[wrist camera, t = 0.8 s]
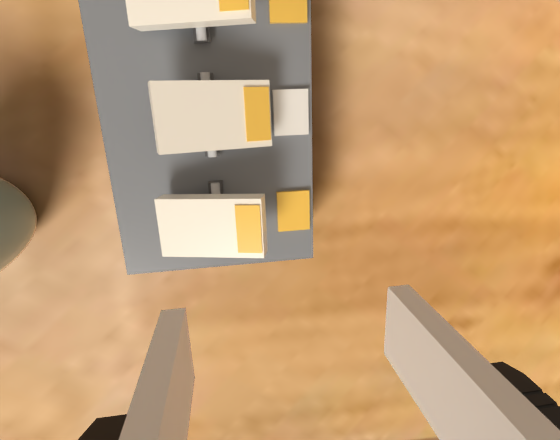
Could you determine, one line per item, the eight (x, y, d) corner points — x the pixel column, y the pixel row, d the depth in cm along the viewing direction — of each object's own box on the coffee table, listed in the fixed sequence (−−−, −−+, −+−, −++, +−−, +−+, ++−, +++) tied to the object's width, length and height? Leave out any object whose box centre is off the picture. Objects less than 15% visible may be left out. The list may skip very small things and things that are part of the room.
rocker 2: (157, 152, 22) (159, 155, 21) (147, 82, 21) (149, 80, 19) (264, 144, 24) (272, 146, 23) (261, 81, 23) (270, 79, 22)
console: (145, 245, 32) (122, 282, 25) (99, -43, 26) (51, -99, 19) (298, 233, 34) (316, 264, 27) (292, -40, 27) (315, -91, 20)
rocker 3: (170, 248, 26) (161, 257, 24) (163, 194, 24) (153, 199, 23) (267, 250, 25) (264, 258, 23) (264, 193, 24) (260, 199, 22)
